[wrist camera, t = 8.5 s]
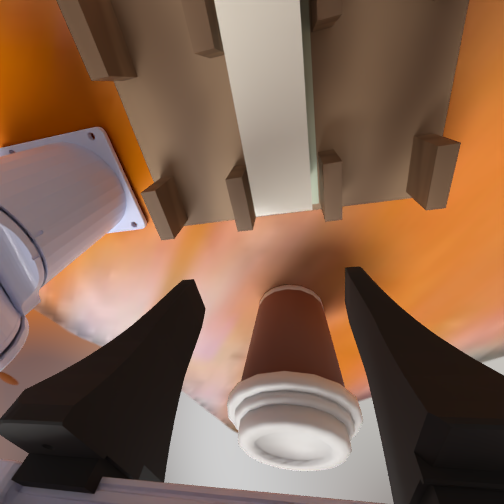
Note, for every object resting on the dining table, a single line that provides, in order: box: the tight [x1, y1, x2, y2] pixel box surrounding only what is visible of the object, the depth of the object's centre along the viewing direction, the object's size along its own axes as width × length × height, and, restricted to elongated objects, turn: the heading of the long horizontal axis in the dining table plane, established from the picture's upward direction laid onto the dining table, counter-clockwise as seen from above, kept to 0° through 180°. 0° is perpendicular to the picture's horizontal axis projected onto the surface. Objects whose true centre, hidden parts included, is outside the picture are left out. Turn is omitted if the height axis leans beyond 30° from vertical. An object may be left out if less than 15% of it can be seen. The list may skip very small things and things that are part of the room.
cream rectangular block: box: [214, 0, 313, 217], centre depth 13 cm, size 3×10×5 cm, turn 11°
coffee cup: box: [227, 285, 363, 471], centre depth 21 cm, size 9×9×12 cm
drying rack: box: [56, 0, 469, 240], centre depth 14 cm, size 19×14×4 cm
